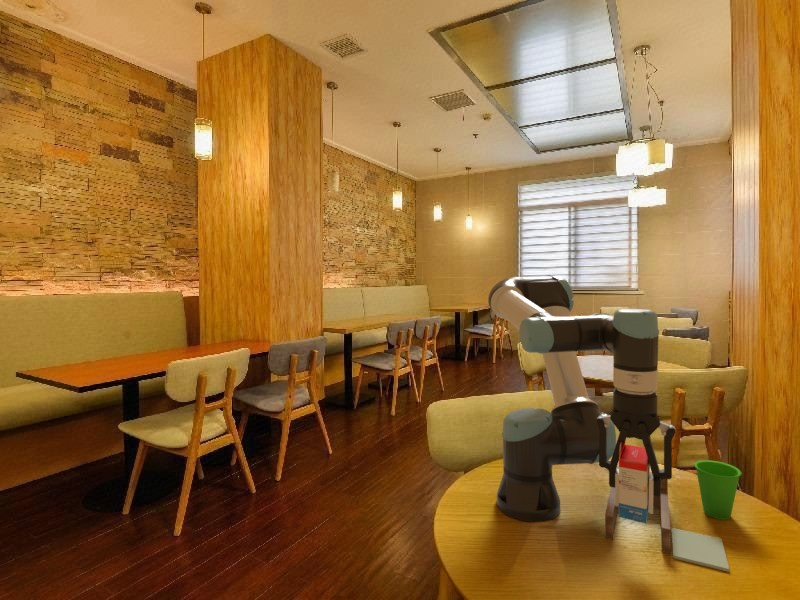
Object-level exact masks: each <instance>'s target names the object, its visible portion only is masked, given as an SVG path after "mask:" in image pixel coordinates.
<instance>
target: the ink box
mask: <svg viewBox="0 0 800 600" xmlns="http://www.w3.org/2000/svg"><path fill="white" fill-rule="evenodd" d="M626 440H627V439H626ZM626 440H625V443H624V446H623V449H622V442H621V443H620V448H619V462H618V467H619V507H618V517H619V518H621V519H625V520H630V521H634V522H638V523H643V524H647V522H648V517H649V474H650V472H651V468H650V464H649V461H648V457H647V454H646V450H645V447H644V446H638V445H632V444H626ZM621 450H622V452H621Z"/></svg>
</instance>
